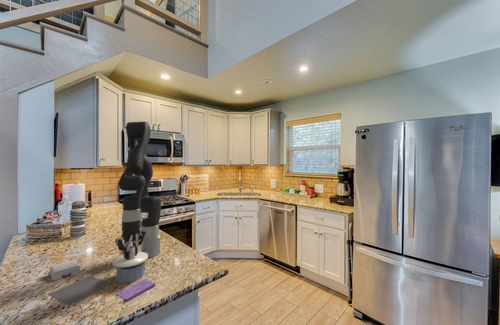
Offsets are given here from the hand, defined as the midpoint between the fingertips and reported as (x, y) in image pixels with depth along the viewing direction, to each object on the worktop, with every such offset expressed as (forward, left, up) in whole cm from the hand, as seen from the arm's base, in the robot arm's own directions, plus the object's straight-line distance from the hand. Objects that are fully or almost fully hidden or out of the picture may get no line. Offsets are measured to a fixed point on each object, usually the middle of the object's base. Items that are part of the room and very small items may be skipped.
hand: (130, 256), depth 95 cm
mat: (+15, -9, -10) cm, 20 cm away
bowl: (0, 0, -10) cm, 10 cm away
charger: (+10, -33, -10) cm, 35 cm away
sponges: (+5, +11, -10) cm, 16 cm away
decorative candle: (-20, -82, -10) cm, 85 cm away
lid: (0, 0, -1) cm, 1 cm away
